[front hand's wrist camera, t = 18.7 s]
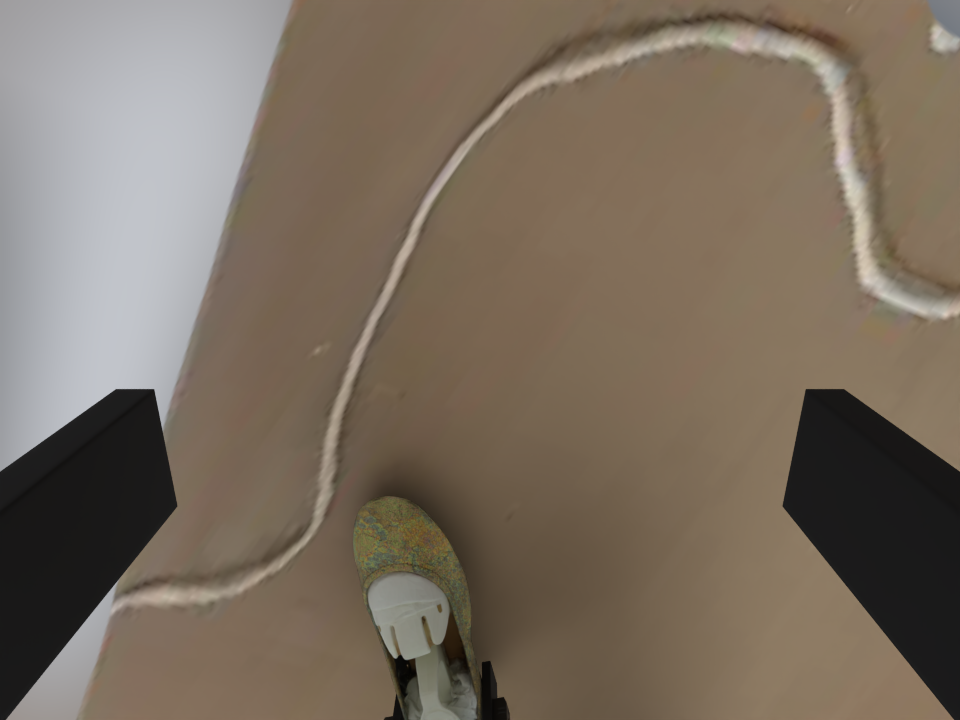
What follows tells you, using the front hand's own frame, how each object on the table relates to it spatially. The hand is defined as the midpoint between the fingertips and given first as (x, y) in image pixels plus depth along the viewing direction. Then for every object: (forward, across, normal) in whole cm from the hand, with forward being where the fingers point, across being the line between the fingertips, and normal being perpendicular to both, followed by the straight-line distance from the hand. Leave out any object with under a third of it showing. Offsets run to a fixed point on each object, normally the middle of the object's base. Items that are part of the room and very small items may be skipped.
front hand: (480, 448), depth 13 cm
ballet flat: (+31, -4, -32) cm, 45 cm away
